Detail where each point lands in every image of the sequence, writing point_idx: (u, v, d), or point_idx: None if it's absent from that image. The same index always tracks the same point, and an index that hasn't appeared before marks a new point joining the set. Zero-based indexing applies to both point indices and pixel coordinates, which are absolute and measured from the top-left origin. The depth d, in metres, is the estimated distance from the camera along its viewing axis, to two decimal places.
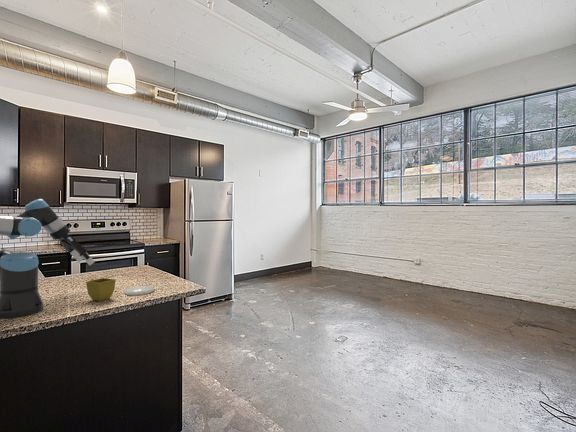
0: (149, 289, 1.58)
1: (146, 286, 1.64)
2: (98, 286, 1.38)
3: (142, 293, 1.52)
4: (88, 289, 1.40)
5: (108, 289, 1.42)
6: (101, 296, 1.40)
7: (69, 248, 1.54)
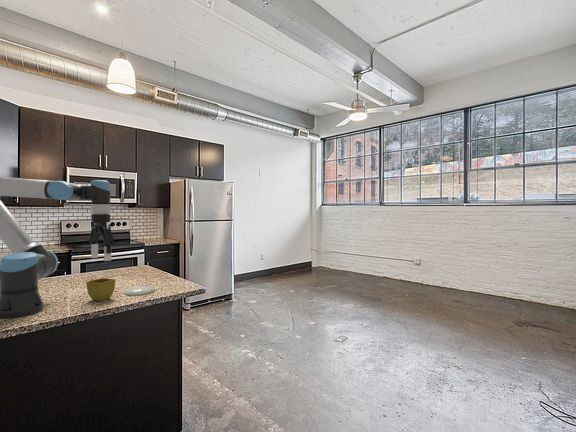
0: (149, 289, 1.58)
1: (146, 286, 1.64)
2: (98, 286, 1.38)
3: (142, 293, 1.52)
4: (88, 289, 1.40)
5: (108, 289, 1.42)
6: (101, 296, 1.40)
7: (94, 239, 1.46)
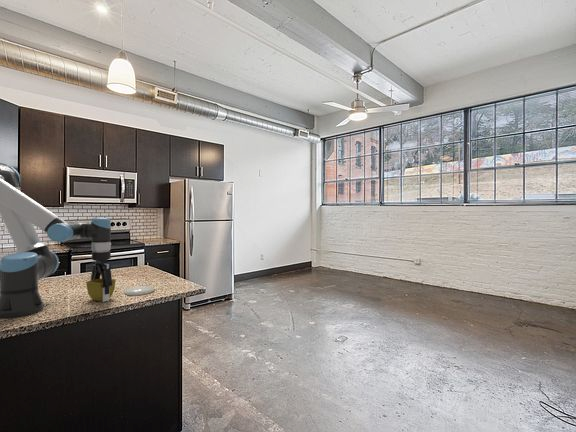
0: (149, 289, 1.58)
1: (146, 286, 1.64)
2: (98, 286, 1.38)
3: (142, 293, 1.52)
4: (88, 289, 1.40)
5: None
6: (101, 296, 1.40)
7: (96, 278, 1.45)
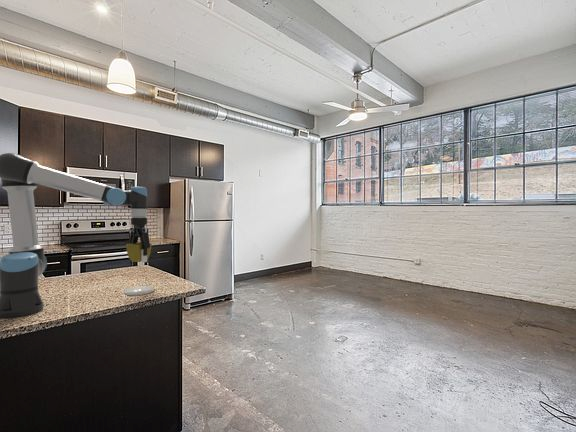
0: (149, 289, 1.58)
1: (146, 286, 1.64)
2: (137, 248, 1.52)
3: (142, 293, 1.52)
4: (128, 251, 1.54)
5: None
6: (140, 257, 1.53)
7: (134, 242, 1.59)
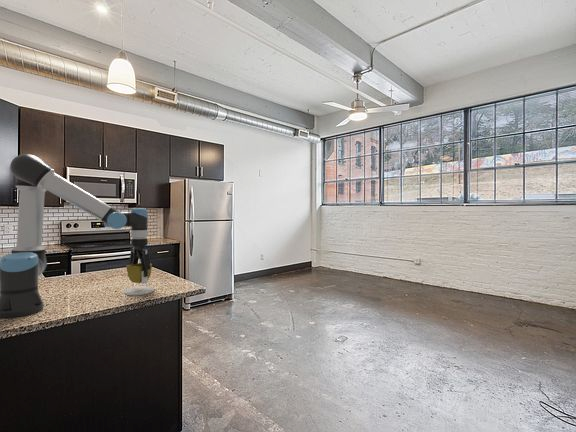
0: (149, 289, 1.58)
1: (146, 286, 1.64)
2: (138, 269, 1.52)
3: (142, 293, 1.52)
4: (128, 272, 1.55)
5: None
6: (140, 278, 1.54)
7: (134, 263, 1.60)
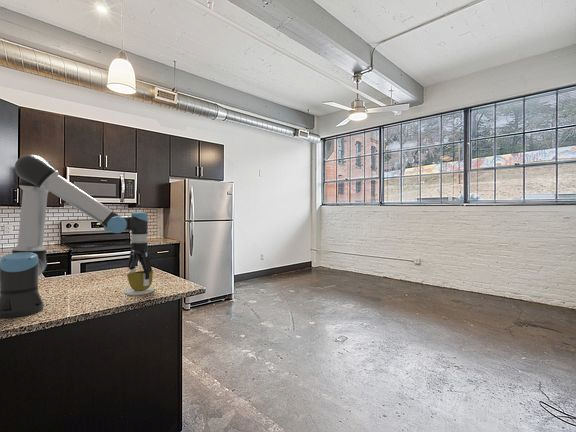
0: (149, 289, 1.58)
1: None
2: (138, 276, 1.51)
3: (142, 293, 1.52)
4: (129, 280, 1.54)
5: None
6: (141, 286, 1.52)
7: (132, 265, 1.60)
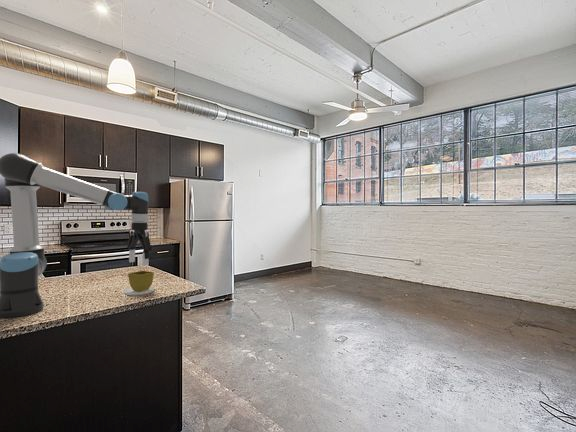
0: (149, 289, 1.58)
1: None
2: (138, 278, 1.50)
3: (142, 293, 1.52)
4: (130, 280, 1.53)
5: (147, 281, 1.55)
6: (141, 287, 1.52)
7: (132, 245, 1.60)
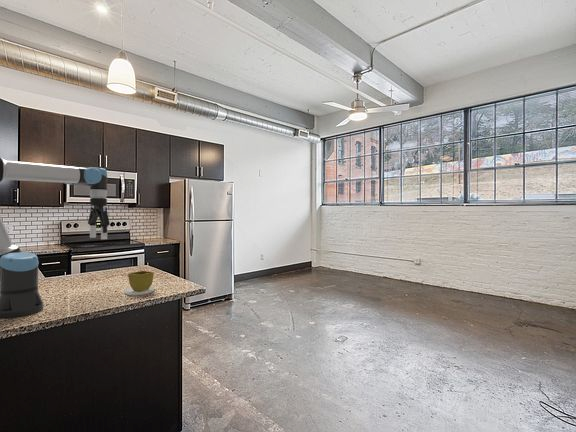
0: (149, 289, 1.58)
1: None
2: (138, 278, 1.50)
3: (142, 293, 1.52)
4: (130, 280, 1.53)
5: (147, 281, 1.55)
6: (141, 287, 1.52)
7: (93, 221, 1.64)
